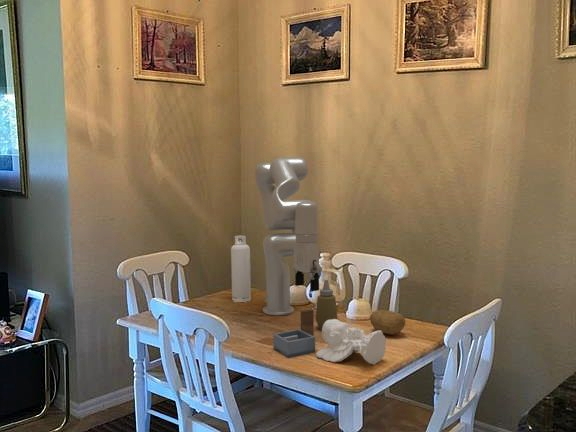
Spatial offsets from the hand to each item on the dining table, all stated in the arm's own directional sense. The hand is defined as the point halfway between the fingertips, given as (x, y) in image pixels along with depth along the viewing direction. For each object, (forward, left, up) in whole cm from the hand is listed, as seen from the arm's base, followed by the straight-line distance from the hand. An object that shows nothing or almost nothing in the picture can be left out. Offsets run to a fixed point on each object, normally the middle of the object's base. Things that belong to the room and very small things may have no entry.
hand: (307, 287), depth 207 cm
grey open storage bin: (+8, -10, -18) cm, 22 cm away
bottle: (-59, +3, -18) cm, 62 cm away
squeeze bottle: (-6, +12, -18) cm, 23 cm away
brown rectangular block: (0, 0, -18) cm, 18 cm away
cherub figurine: (+23, +1, -18) cm, 30 cm away
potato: (+10, +27, -18) cm, 34 cm away
